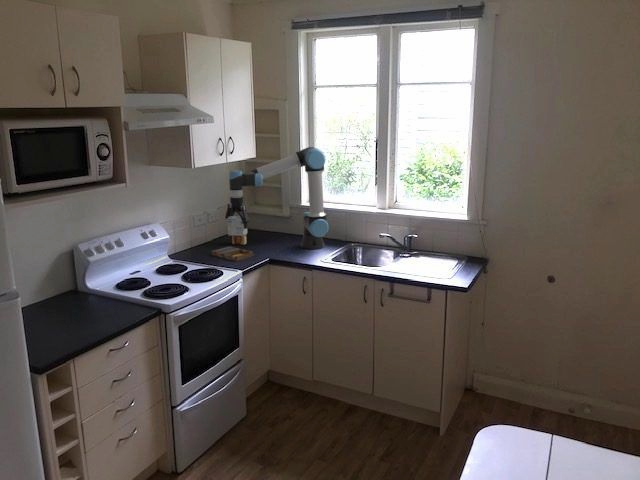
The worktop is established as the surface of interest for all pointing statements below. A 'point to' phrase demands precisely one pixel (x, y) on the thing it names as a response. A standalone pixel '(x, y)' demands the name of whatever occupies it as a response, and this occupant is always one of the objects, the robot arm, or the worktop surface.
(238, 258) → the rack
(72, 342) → the worktop surface
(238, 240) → the candy box
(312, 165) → the robot arm
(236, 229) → the light bulb box
